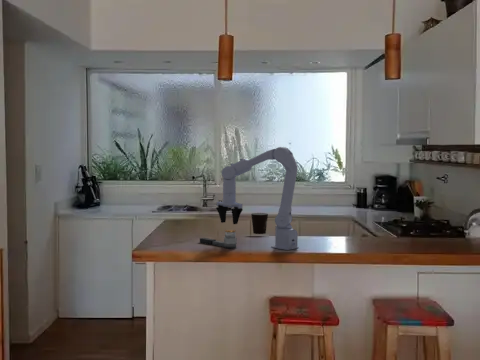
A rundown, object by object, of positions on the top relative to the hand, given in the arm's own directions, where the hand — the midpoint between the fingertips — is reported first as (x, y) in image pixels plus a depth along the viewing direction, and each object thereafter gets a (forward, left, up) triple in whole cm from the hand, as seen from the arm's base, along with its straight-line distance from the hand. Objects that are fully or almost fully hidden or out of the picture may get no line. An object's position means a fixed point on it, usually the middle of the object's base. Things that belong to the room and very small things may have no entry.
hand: (229, 223), depth 246 cm
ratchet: (+3, +4, -10) cm, 11 cm away
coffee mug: (+15, -37, -10) cm, 41 cm away
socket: (-5, +4, -8) cm, 10 cm away
